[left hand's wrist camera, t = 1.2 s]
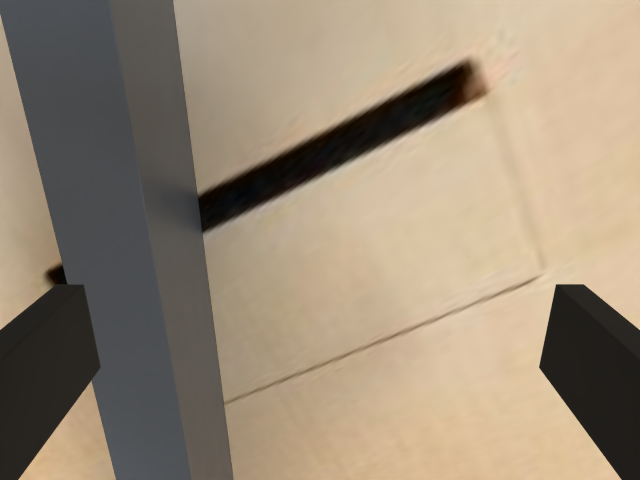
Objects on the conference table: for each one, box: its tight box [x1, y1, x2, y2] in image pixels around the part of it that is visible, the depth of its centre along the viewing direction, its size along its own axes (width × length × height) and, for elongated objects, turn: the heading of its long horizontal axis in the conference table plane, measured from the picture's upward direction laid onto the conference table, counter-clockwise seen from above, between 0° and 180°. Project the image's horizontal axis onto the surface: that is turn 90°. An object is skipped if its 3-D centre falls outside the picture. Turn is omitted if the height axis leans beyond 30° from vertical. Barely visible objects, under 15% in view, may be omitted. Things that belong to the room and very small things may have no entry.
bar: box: [0, 0, 233, 480], centre depth 32 cm, size 68×4×9 cm, turn 2°
